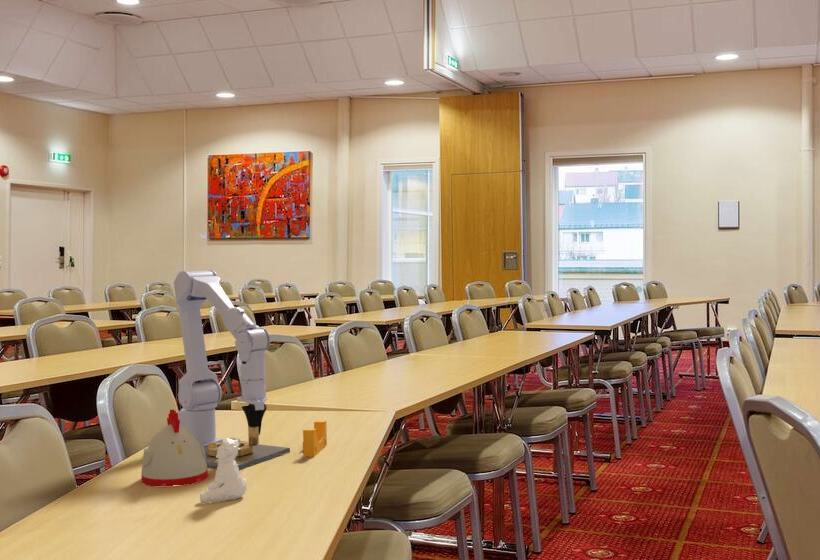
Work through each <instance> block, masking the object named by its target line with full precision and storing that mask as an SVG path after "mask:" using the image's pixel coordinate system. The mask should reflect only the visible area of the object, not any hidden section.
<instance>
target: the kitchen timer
mask: <svg viewBox="0 0 820 560" xmlns="http://www.w3.org/2000/svg"><path fill="white" fill-rule="evenodd" d="M178 413H179V412H177V410H175V409H169V413H168V416H167V418H166V420H167V421H166V423H167V425H166V426H164V427H162V428H161V430H159V431H158V432H157V433H156V434H155V436H154V437H153V438H152V439H151V441H150V443H149V444H148V446H147V448H144V450H143V457H142V461H141V462H142V463H141V464H142V466H141V472H140V473H141V483H142V484H143V483H144V484H143V485H145V484H146V485H145V486H148V485H150V486H149V487H154V486H173V485H184V484H185V485H184V486H187V485H186V484H190V485H193V484H192V483H194V484H197V483H196V482H198V483H200V481H201V482H203V481H204V480H206V479H207V478H208V475H209V473H208V470H209V469H208V467H207V463H206V460H205V459H206V455H205V450H204V447H205V446H204V445H201V446H200V444H199V442H198V441H197V439H196V438H195V436H194V435H193V434H192V433H191V432H190V431H189V430H188V429H186V428H185V427H183V426H181V425H180V419H179V420H178Z"/></svg>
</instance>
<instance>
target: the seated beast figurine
mask: <svg viewBox="0 0 820 560" xmlns="http://www.w3.org/2000/svg"><path fill="white" fill-rule="evenodd" d="M230 438H231V437H226V438H222V439H223V440H222V444H221V446H219V447H218V451H217V455H216V457H217V458H218V460H219V461H218V467H217V468H216V470H215V475H214V480H213V482H211V483H209V484H208V486H207V488H206V489H205V490H204V491H202V492H200V493H199V503H200V502H201V503H207V504H209V503H210V502H215V503H219V502H218V501H222V502H227V500H228V501H235V500H238V499H240V498H241V497H242V496H244V495H245V494H246V491H247V481H246V480H247V479H245V478H244V476H243V475H242V474H241V472H240V470H239V467H238V464H237V463H236V461H235V460H234V459H235V458H236V455H237V454H238V450H239V448H238V446H239V442H238V440H232V439H230ZM201 503H200V504H201ZM210 504H211V503H210Z"/></svg>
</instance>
